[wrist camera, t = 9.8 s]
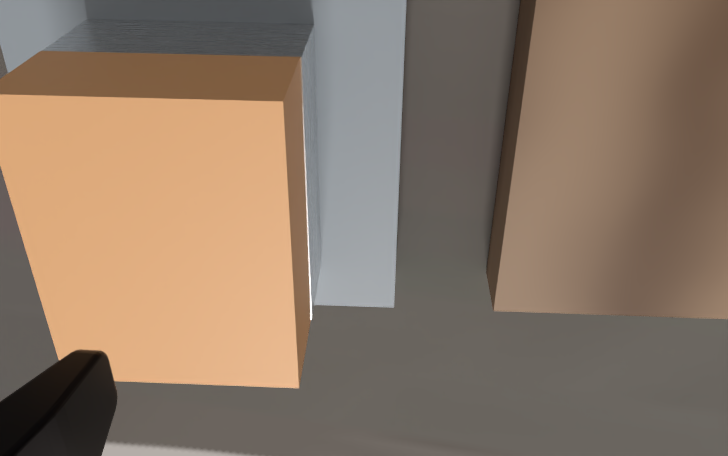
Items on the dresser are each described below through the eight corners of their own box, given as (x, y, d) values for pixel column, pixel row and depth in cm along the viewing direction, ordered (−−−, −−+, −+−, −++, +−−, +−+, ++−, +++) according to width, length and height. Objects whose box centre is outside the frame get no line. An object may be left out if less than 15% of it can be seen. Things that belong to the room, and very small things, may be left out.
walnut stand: (938, -47, 17) (998, -30, 15) (798, 282, 22) (831, 322, 20) (527, -54, 17) (541, -39, 16) (486, 272, 22) (493, 310, 21)
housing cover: (310, 318, 18) (298, 388, 16) (103, 311, 18) (64, 379, 16) (300, 56, 14) (282, 101, 12) (40, 51, 15) (-22, 94, 12)
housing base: (320, 264, 20) (312, 318, 18) (135, 258, 20) (104, 311, 18) (314, 23, 16) (301, 56, 14) (87, 18, 17) (41, 50, 14)
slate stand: (407, -56, 17) (408, -41, 16) (394, 269, 23) (394, 307, 21) (16, -63, 18) (-25, -48, 16) (93, 259, 23) (68, 296, 21)
